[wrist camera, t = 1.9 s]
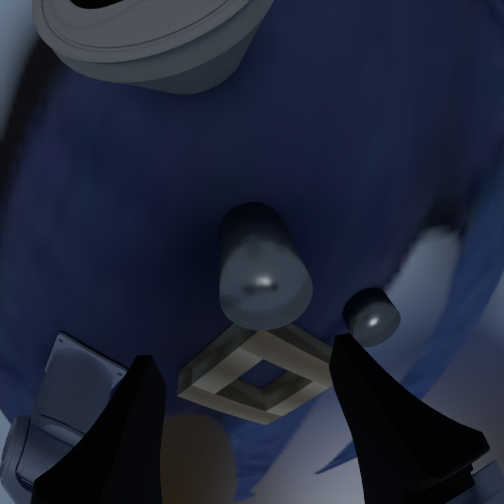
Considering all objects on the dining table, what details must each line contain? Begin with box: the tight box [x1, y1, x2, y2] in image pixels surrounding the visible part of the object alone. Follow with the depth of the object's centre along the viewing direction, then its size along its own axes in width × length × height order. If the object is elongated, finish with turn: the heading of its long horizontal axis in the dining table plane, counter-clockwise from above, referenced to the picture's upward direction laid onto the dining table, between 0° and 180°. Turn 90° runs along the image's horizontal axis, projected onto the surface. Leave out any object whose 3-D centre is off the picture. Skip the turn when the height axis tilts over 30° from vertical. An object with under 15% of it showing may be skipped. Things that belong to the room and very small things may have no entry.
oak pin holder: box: [177, 323, 333, 425], centre depth 25 cm, size 12×12×3 cm
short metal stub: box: [343, 288, 401, 347], centre depth 23 cm, size 4×4×3 cm
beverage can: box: [32, 0, 274, 94], centre depth 8 cm, size 6×6×12 cm
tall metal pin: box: [219, 202, 313, 331], centre depth 17 cm, size 4×4×7 cm
